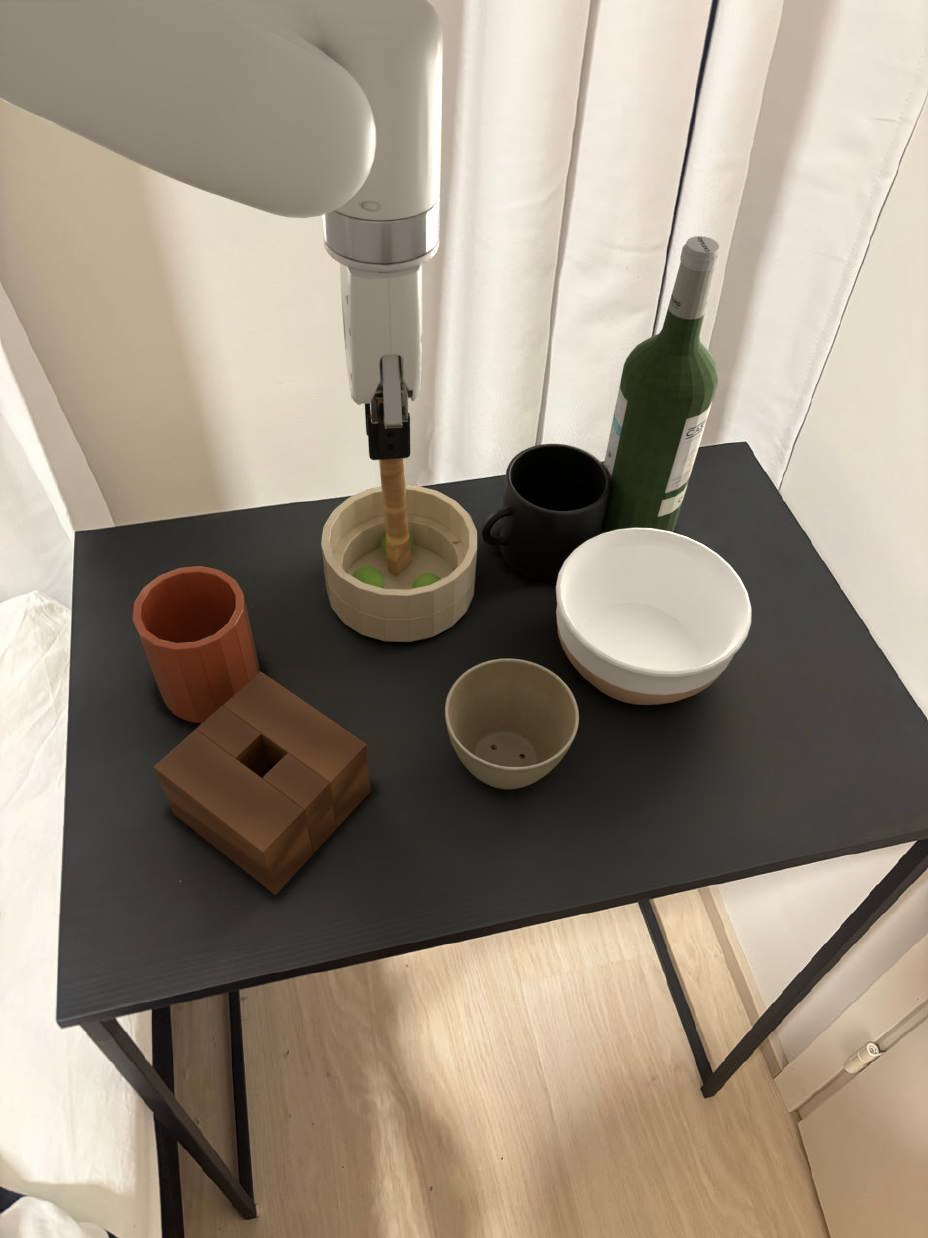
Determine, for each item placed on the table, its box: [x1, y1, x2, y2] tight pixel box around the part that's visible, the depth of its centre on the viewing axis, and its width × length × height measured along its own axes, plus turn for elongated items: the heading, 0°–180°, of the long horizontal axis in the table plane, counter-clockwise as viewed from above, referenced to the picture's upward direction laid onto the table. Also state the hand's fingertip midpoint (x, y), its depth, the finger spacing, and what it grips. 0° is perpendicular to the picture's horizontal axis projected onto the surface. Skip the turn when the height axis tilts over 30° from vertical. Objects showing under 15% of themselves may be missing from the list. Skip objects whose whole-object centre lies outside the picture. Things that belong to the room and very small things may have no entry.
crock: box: [132, 565, 261, 724], centre depth 74 cm, size 8×8×10 cm
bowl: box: [555, 528, 752, 706], centre depth 79 cm, size 16×16×8 cm
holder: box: [153, 671, 371, 896], centre depth 68 cm, size 11×11×7 cm
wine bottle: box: [601, 235, 721, 534], centre depth 80 cm, size 8×8×30 cm
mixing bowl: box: [320, 484, 478, 643], centre depth 83 cm, size 13×13×7 cm
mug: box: [481, 443, 611, 582], centre depth 86 cm, size 9×12×9 cm
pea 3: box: [412, 573, 441, 589], centre depth 82 cm, size 3×3×3 cm
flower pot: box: [444, 658, 580, 790], centre depth 71 cm, size 10×10×7 cm
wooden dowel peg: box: [378, 397, 412, 577], centre depth 77 cm, size 2×2×20 cm
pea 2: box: [381, 534, 414, 556], centre depth 86 cm, size 3×3×3 cm
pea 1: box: [352, 567, 384, 588], centre depth 83 cm, size 3×3×3 cm
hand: (388, 443), depth 73 cm, fingers closed on wooden dowel peg, 2 cm apart
